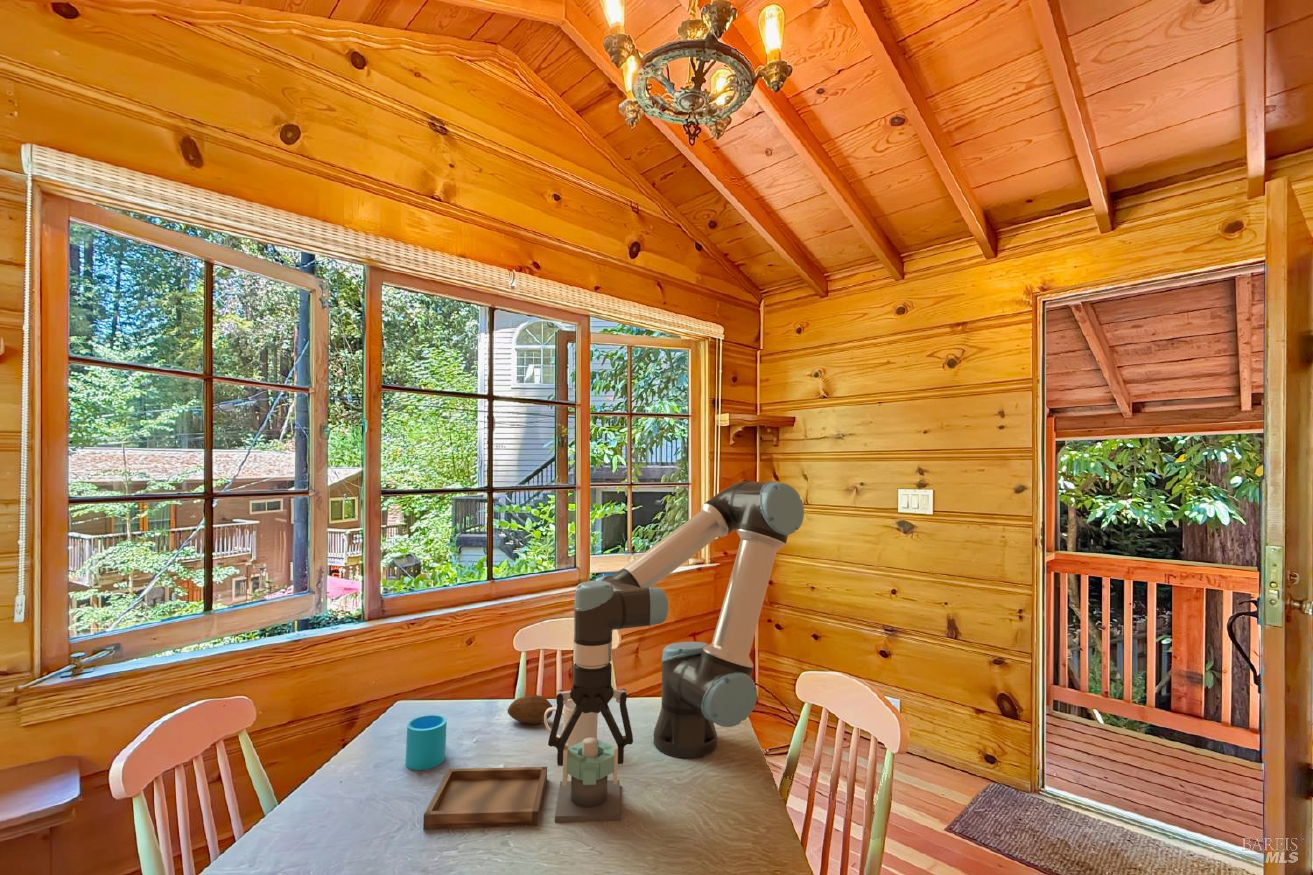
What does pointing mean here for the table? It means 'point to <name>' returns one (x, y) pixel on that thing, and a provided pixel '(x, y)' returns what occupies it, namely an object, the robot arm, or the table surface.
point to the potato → (530, 709)
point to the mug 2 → (582, 728)
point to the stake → (588, 795)
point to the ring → (590, 763)
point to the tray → (487, 798)
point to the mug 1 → (426, 742)
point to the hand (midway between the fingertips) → (590, 780)
